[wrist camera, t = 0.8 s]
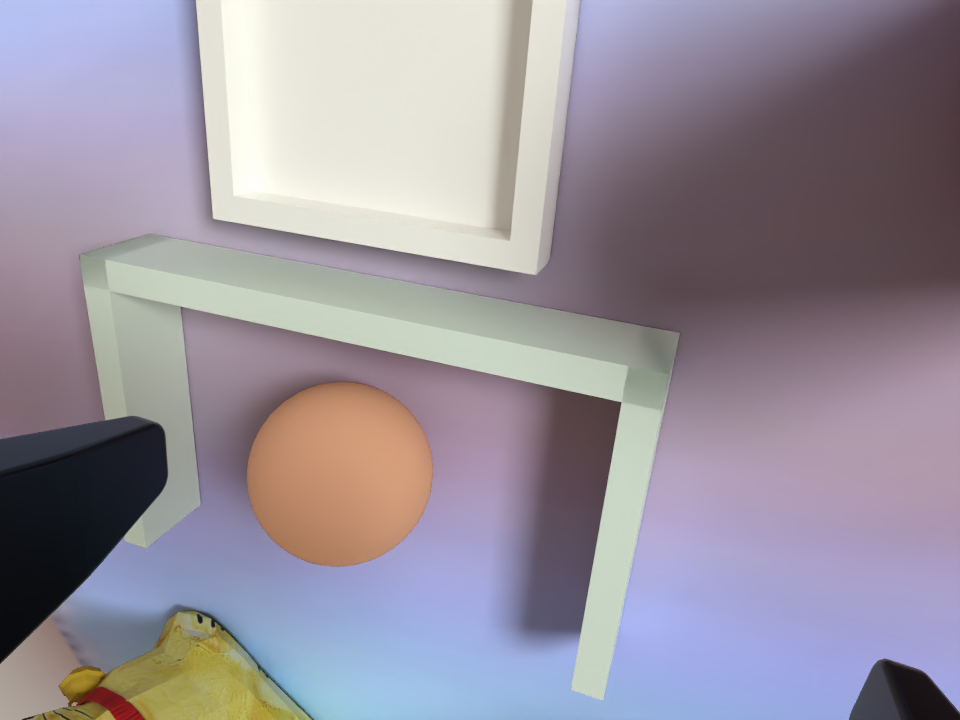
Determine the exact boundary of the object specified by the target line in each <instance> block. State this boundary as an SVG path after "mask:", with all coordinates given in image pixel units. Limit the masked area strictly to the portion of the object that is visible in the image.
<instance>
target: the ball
mask: <svg viewBox="0 0 960 720" xmlns="http://www.w3.org/2000/svg"><path fill="white" fill-rule="evenodd" d="M432 478H433V464H432V456H431V450H430V447H429V443H428V441H427V438H426V436H425V433H424V431H423V429H422V428H421V426H420V424H419V422H418V421H417V420H416V418H415V417H414V415H413V414H412V413H411V412H410V411H409V410H408V409H407V408H406V407H405V406H404V405H403V404H402V403H401V402H400V401H398V400H397V399H396V398H394V397H393V396H391V395H389V394H388V393H386V392H384V391H382V390H379V389H377V388H375V387H372V386H369V385H366V384H361V383H355V382H331V383H324V384H320V385H316V386H313V387H310V388H307V389H305V390H303V391H301V392H299V393H297V394H295V395H294V396H292V397H290V398H289V399H287V400H286V401H284V402H283V403H282V404H281V405H280V406H279V407H278V408H277V409H276V410H275V411H273V412H272V413H271V415H270V416H269V417H268V419H267V420H266V421H265V423H264V424H263V425H262V427H261V428H260V430H259V432H258V434H257V436H256V438H255V440H254V442H253V445H252V449H251V452H250V456H249V459H248V467H247V487H248V493H249V498H250V502H251V506H252V508H253V511H254V513H255V515H256V517H257V519H258V521H259V523H260V524H261V526H262V527H263V529H264V530H265V532H266V533H267V534H268V535H269V537H270V538H271V539H272V540H273V541H274V542H275V543H276V544H278V545H279V546H280V547H281V548H283V549H284V550H285V551H287V552H289V553H290V554H292V555H294V556H296V557H298V558H300V559H302V560H304V561H307V562H310V563H314V564H318V565H324V566H336V567H340V566H350V565H357V564H360V563H364V562H367V561H370V560H373V559H375V558H377V557H379V556H381V555H383V554H385V553H387V552H388V551H390V550H391V549H393V548H394V547H395V546H397V545H398V544H399V543H400V542H401V541H402V540H404V539H405V538H406V537H407V536H408V534H409V533H410V532H411V531H412V530H413V528H414V527H415V526H416V524H417V523H418V521H419V519H420V518H421V516H422V514H423V512H424V510H425V508H426V505H427V502H428V499H429V496H430V492H431V486H432Z"/></svg>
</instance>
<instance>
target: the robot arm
mask: <svg viewBox="0 0 960 720" xmlns="http://www.w3.org/2000/svg"><path fill="white" fill-rule="evenodd" d="M167 479H168V461H167V447H166V435H165V431H164V429H163V427H162V425H160V424H159V423H157V422H154V421H151V420H148V419H145V418H142V417H139V416H127V417H121V418H116V419H110V420H105V421H99V422H94V423H88V424H83V425H77V426H72V427H66V428H60V429H55V430H49V431H44V432H38V433H33V434H27V435H22V436H16V437H11V438H5V439H0V664H1V663H2V661H4V660H5V659H6V658H7V657H8V656H9V655H10V654H11V653H12V652H13V651H14V650H15V649H16V648H17V647H18V646H19V645H20V644H21V643H22V642H23V641H24V640H25V639H26V638H27V637H28V636H29V635H30V634H31V633H32V632H33V631H34V630H35V629H37V628H38V627H39V625H41V624H42V623H43V622H44V621H45V620H46V619H47V618H48V617H49V616H50V615H51V614H52V613H53V612H54V611H55V610H56V609H57V608H58V607H59V606H60V605H61V604H62V603H63V602H64V601H65V600H66V599H67V598H68V597H69V596H70V595H71V594H72V593H74V592H75V590H76V589H77V588H78V587H79V586H80V585H81V584H82V583H83V582H84V581H85V580H86V579H87V578H88V577H89V576H90V575H91V574H92V573H93V572H94V570H95V569H96V568H97V567H98V566H99V565H100V564H101V563H102V561H103V560H104V559H105V558H106V557H107V556H108V554H109V553H110V552H111V551H112V550H113V549H114V547H115V546H116V545H117V544H118V543H119V542H120V540H121V539H122V538H123V537H124V536H125V535H126V533H127V532H128V531H129V530H130V529H131V528H132V526H133V525H134V524H135V523H136V522H137V521H138V519H139V518H140V517H141V516H142V515H143V514H144V512H145V511H146V510H147V509H148V508H149V507H150V505H151V504H152V503H153V502H154V501H155V500H156V498H157V497H158V496H159V495H160V494H161V492H162V491H163V489H164V487H165V485H166V483H167ZM849 720H960V712H959V711H958V710H957V709H956V708H955V706H954V705H953V704H952V703H951V702H950V701H949V699H948V698H947V697H946V696H945V695H944V694H943V692H942V691H941V690H940V689H939V688H938V687H937V685H936V684H935V683H934V682H933V681H932V680H931V678H930V677H929V676H928V675H927V674H926V673H924V672H923V671H921V670H919V669H916V668H913V667H910V666H907V665H904V664H901V663H898V662H895V661H891V660H888V659H882V660H878V661H877V662H876V664H875V665H874V666H873V667H872V669H871V671H870V673H869V676H868V678H867V680H866V682H865V684H864V686H863V688H862V690H861V692H860V694H859V696H858V699H857V701H856V703H855V705H854V707H853V709H852V711H851V714H850V717H849Z"/></svg>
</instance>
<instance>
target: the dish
mask: <svg viewBox="0 0 960 720" xmlns="http://www.w3.org/2000/svg"><path fill="white" fill-rule="evenodd" d="M580 3H581V0H196V8H197V21H198V33H199V46H200V59H201V71H202V84H203V97H204V109H205V122H206V135H207V147H208V160H209V173H210V186H211V198H212V211H213V219H217V220H223V221H229V222H235V223H240V224H246V225H252V226H258V227H263V228H269V229H275V230H280V231H286V232H292V233H298V234H303V235H309V236H315V237H320V238H326V239H332V240H338V241H343V242H349V243H355V244H361V245H366V246H372V247H378V248H383V249H389V250H395V251H401V252H406V253H412V254H418V255H423V256H429V257H435V258H441V259H446V260H452V261H458V262H464V263H469V264H475V265H481V266H486V267H492V268H498V269H504V270H509V271H515V272H521V273H526V274H532V275H537V274H538V273H539V272H540V271H541V270H542V269H543V268H544V267H545V266H546V265H547V264H548V262H549V261H550V255H551V246H552V238H553V230H554V221H555V213H556V205H557V196H558V188H559V179H560V171H561V163H562V154H563V146H564V137H565V129H566V121H567V112H568V104H569V96H570V87H571V79H572V70H573V62H574V54H575V45H576V37H577V28H578V20H579V12H580Z"/></svg>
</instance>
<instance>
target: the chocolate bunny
mask: <svg viewBox="0 0 960 720" xmlns="http://www.w3.org/2000/svg"><path fill="white" fill-rule="evenodd" d="M59 688H60V689H61V691H62V693H63V694H64V696H66V697H67V698H68V700H69V701H70V702H69V703H68V706H69V707H65V708H60V709H57V710H53V711H50V712H46V713H43V714H39V715H35V716H32V717H28V718H25V719H22V720H312V719H311V718H310V717H309V716H308V715H307V714H306V713H304V712H303V711H302V710H301V709H300V708H299V707H298V706H297V705H296V704H295V703H294V702H293V701H292V700H291V699H290V698H289V697H288V696H287V695H286V694H285V693H284V692H283V691H282V690H281V689H280V688H279V687H278V686H277V685H276V684H275V683H274V682H273V681H272V680H271V679H270V678H269V677H268V676H267V675H266V674H265V673H264V672H263V671H262V670H261V669H260V668H259V666H258V665H257V664H256V663H255V662H254V660H253V659H252V658H251V657H250V656H249V654H248V653H247V652H246V651H245V650H244V649H243V648H242V647H241V646H240V645H239V644H238V643H237V642H236V641H235V640H234V639H233V637H232V636H231V635H229V634H228V633H227V632H226V631H225V630H224V629H223V628H221V627H220V626H219V625H218V624H217V623H216V622H215V621H214V620H212V619H211V618H209V617H207V616H205V615H203V614H201V613H199V612H197V611H185V612H178V613H176V614H175V615H173V616H172V617H170V618H169V619H168V621H167V623H166V625H165V627H164V630H163V632H162V634H161V636H160V638H159V640H158V642H157V644H156V645H155V647H154V649H153V650H152V651H150V652H148V653H146V654H144V655H142V656H140V657H138V658H136V659H133V660H131V661H129V662H127V663H125V664H123V665H121V666H119V667H117V668H115V669H113V670H112V671H110V672H109V673H108V674H106V675H105V673H104V672H101V670H100V668H96V667H92V666H83V667H80V668H77V669H75V670H73V671H72V672H71V673H70V674H69V675H68V676H67V677H66V678H65V679H64V681H63V682H62V683H61V684H60V685H59ZM73 702H78V704H77V705H76V706H73V707H71V704H72V703H73Z"/></svg>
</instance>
